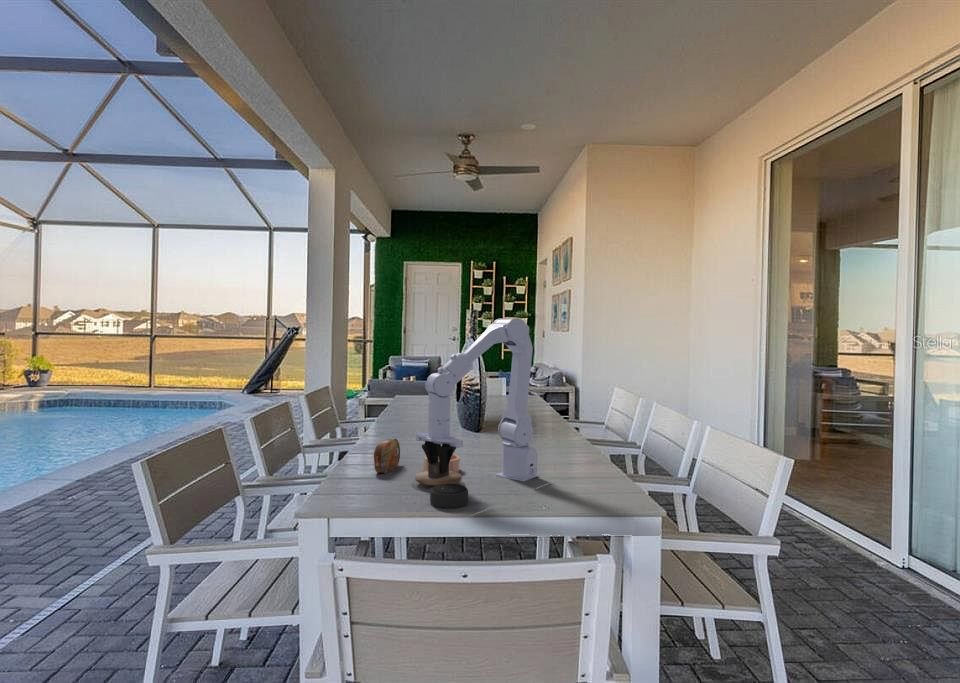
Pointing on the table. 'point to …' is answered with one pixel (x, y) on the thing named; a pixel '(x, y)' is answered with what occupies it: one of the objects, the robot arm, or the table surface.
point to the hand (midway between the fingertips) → (438, 471)
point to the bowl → (453, 464)
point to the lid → (437, 476)
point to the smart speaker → (449, 496)
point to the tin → (386, 455)
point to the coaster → (428, 486)
